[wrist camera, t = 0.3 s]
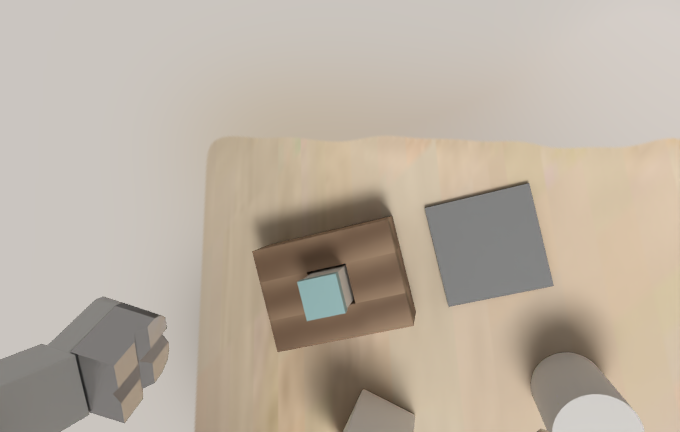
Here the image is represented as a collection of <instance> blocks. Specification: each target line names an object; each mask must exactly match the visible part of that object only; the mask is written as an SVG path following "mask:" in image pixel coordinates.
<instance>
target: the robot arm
mask: <svg viewBox="0 0 680 432" xmlns="http://www.w3.org/2000/svg"><path fill="white" fill-rule="evenodd" d="M166 329H167V325H166V319H165V317H164V316H161V315H158V314H155V313H152V312H149V311H146V310H143V309H140V308H137V307H134V306H131V305H128V304H125V303H122V302H118V301H115V300H112V299H109V298H106V297H101V298H99V299H96V300H95V301H94V302H93V303H92V304H90V306H88V307H87V308H86V309H85V310H84V311H83V312H82V313H81V314H80V315H79V316H78V317H77V318H76V319H75V320H74V321H73V322H72V323H71V324H70V325H68V327H66V328H65V329H64V330H63V331H62V332H61V333H60V334H59V335H58V336H57V337H56V338H55V339H54V340H53V341H52V342H51V343H50V344H49V345H48V346H47V345H43V344H40V345H37V346H35V347H32V348H30V349H27V350H24V351H22V352H19V353H16V354H14V355H11V356H9V357H6V358H3V359H1V360H0V432H61V431H62V430H64V429H66V428H67V427H69V426H71V425H72V424H74V423H76V422H77V421H79V420H81V419H83V418H84V417H86V416H88V415H89V412H90V413H94V414H97V415H100V416H103V417H107V418H110V419H113V420H116V421H119V422H123V423H125V422H126V421H127V419H128V418H129V417H130V415H131V414H132V413H133V411H134V410H135V409H136V407H137V406H138V405H139V403H140V402H141V401H142V399H143V388H145V387H147V386H149V385H151V384H153V383H155V382H156V380H157V379H158V377H159V376H160V375H161V373H162V371H163V369H164V367H165V364H166V362H167V360H168V354H169V343H168V341H167V340H166V338H165V337H164V336H163V335H162V334H163V332H164V331H165V330H166ZM537 432H550V431H547V430H543V429H540V430H538V431H537Z"/></svg>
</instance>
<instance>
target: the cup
mask: <svg viewBox="0 0 680 432" xmlns="http://www.w3.org/2000/svg"><path fill="white" fill-rule="evenodd" d="M531 392H532V396H533V398H534V401H535V403H536V405H537V408H538V410H539V412H540V415H541V417H542V419H543V422H544V424H545V427H546V429H547V431H550V432H645V430H644V427H643V424H642V422H641V420H640V418H639V416H638V415H637V414H636V412H635V411H634V410H633V409H632V408H631V406H630V405H629V404H628V403H627V402H626V400H625V399H624V398H623V397H622V396H621V394H620V393H619V392H618V391H617V390H616V389H615V387H614V386H613V385H612V384H611V383H610V381H609V380H608V379H607V378H606V377H605V375H604V374H603V373H602V372H601V371H600V369H599V368H598V367H597V366H596V365H595V364H594V363H593V362H592V361H591V360H589V359H588V358H586V357H584V356H582V355H579V354H576V353H570V352H563V353H557V354H553V355H551V356H549V357H547V358H545V359H544V360H542V361H541V362H540V363H539V364H538V366H537V367H536V368H535V370H534V372H533V374H532V378H531Z"/></svg>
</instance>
